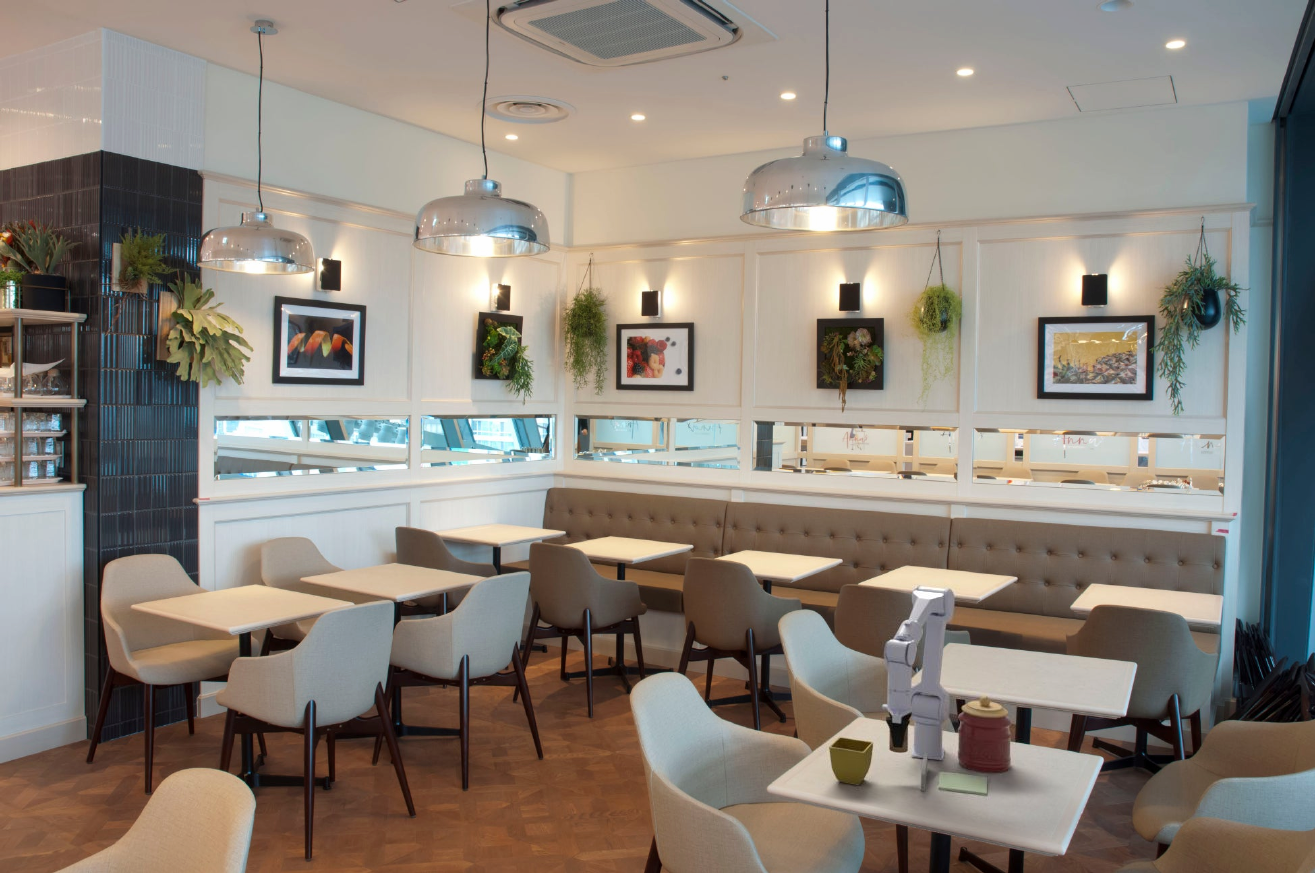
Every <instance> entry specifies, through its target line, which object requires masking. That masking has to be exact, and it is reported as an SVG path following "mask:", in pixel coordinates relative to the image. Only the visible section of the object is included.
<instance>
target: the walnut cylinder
mask: <svg viewBox="0 0 1315 873" xmlns="http://www.w3.org/2000/svg"><path fill="white" fill-rule="evenodd" d="M888 744H889V746H888V748H889V751H891V752H893V753H899V754H901V753H902V754H904V753H907V752H908V749H909V748H908V747H909V726H908V727H907V729H906V732H905V737H904V743H903V747H902V748H897V747H893V743H892V737H891V732H890V731H889V743H888Z"/></svg>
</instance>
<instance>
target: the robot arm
mask: <svg viewBox="0 0 1315 873" xmlns="http://www.w3.org/2000/svg"><path fill="white" fill-rule="evenodd" d="M955 598H956V597H955V594H954V592H953V590H952V589H951V588H942V587H941V588H940V587H933V586H931V587H930V586H923V585H919V584H918V585H916V586H915V587H913V591H912V594H911V604H912V610H911V612H910V615H909V618H908V619H906V620H903V622H901V624H900V626H899V628H898V630H897V632H896V633H895V635H894V637H893V639H890V640H888V641H887V642H885V645H884V650H883V651H884V652H883V658H884V661H885V669H886V670H887V695H886V696H887V703H884V704H882V709H883V710H886V711H887V713H888V715H889V716H886V717H885V721H886V722H885V723H886V724H887V726H888V728H889V733H890V732H891V737H892V743H893V747H897V748H902V747H903V743H904V737H905V732H906V729H907V727H908V728H909V725H910V723H911V720H912V721H914V724H913V726H914V727H913V729H914V730H913V745H912V751H911V757H912V758H917V759H918V758H919V759H920V758H921V759H924V753H928V759H929V760H935V761H936V760H937V761H943V760H944V756H945V747H943V726H944V724H943V723H946V721H948V719H949V718H950V711H951V704H950V698H951V697H950V693H949V692H948V691H947V690H946V688H944V687H943V686H942V685H941V674H942V666H943V665H942V664H943V658H944V657H943V656H944V645H945V636H946V627H947V623H948V622H950V621H952V620H953V617H954V613H955V603H956V602H955V601H956V600H955ZM925 623H926V630H925V631H926V632H925V640H924V650H923V660H922V668H921V676H920V677H921V680H920V682H919V683H917V684H915V685H914V686H912V679H913V678H912V676H913V675H912V670H913V669H912V668H913V665H914V663H915V660H916V655H917V652H918V648H917V646H918V645H919V642H920V641H921V639H922V637H923V636H924V635H923V634H924V629H923V626H924V625H925ZM928 694H929V695H928ZM910 719H911V720H910Z"/></svg>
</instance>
